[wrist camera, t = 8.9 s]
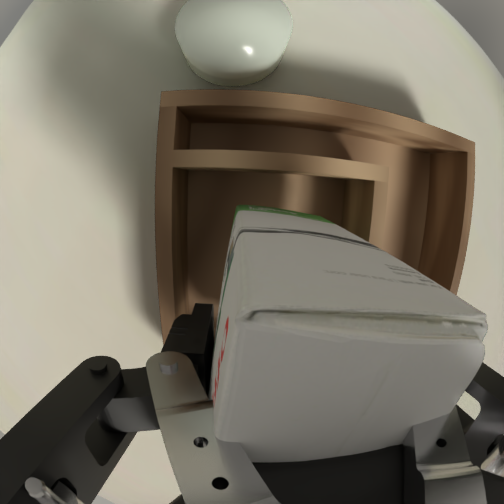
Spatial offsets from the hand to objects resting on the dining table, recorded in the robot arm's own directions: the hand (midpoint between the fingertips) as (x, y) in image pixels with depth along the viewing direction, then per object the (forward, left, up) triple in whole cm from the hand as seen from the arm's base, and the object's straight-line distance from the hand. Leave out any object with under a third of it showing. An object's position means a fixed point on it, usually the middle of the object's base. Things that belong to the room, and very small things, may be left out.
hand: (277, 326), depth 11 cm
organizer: (-3, -1, -7) cm, 8 cm away
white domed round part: (+3, -15, -7) cm, 17 cm away
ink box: (0, 0, -5) cm, 5 cm away
